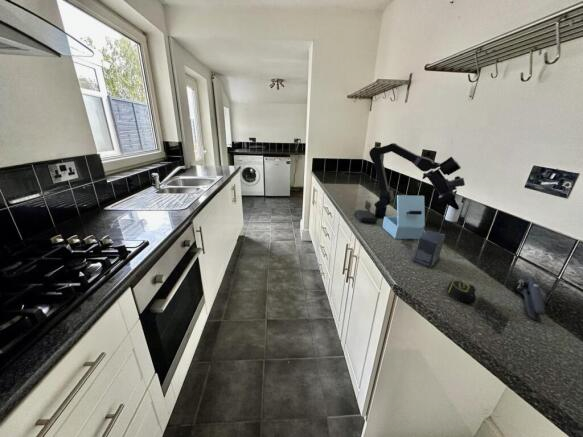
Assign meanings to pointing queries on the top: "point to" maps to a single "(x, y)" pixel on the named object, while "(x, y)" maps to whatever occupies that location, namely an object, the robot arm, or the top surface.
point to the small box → (429, 248)
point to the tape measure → (462, 291)
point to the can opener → (532, 297)
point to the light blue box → (401, 229)
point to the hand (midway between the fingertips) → (458, 207)
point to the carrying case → (365, 216)
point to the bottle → (454, 210)
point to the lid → (410, 211)
